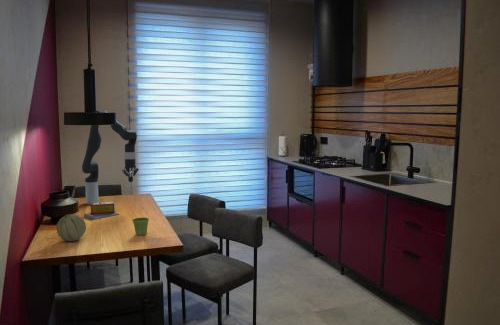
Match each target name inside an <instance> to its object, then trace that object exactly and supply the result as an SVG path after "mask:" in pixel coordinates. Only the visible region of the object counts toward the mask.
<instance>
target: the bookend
mask: <svg viewBox="0 0 500 325" xmlns="http://www.w3.org/2000/svg"><path fill="white" fill-rule="evenodd" d="M113 216H120V213H118V212H117V213H116V212H115V213H104V214H91V213H90V214H89V213H83V217H84V218H86V219H89V220H93V221H94V220H99V219H103V218H109V217H113Z"/></svg>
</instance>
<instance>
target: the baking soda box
mask: <svg viewBox="0 0 500 325" xmlns="http://www.w3.org/2000/svg"><path fill="white" fill-rule="evenodd" d="M116 211H117V204H116V201H99V202H97V203H92V204H90V215H94V214H104V213H116Z"/></svg>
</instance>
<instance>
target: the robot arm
mask: <svg viewBox="0 0 500 325" xmlns="http://www.w3.org/2000/svg"><path fill="white" fill-rule="evenodd" d="M95 110H96V112H97V113H109V112H108V111H107V110H105V109H98V110H97V109H95ZM99 126H100V124H99V125H91V124H90V128H89V129H90V130H89V136H88V140H87V143H86V144H87V145H86V150H85V155H84V158H83V161H82V164H81V169H82V172H83V174H86V175H87V174H89V176H87V177H85V178H84V183H85V184H84V185H85V186H84V187H85V204H86V205H91V204H92V203H97V202H100V201H99V185H98V184H99V182H98V181H99V163H98V162H97V161H95V160H93V158H94V157H95V155H96V154H97V153H98V152H99V150H100V148H101V143H102V136H101V133H100V131H99ZM110 128H111V129H112V130H113V132H115V133H116V134H118V135H119V136H120V138H121V139H122V140H124V141H128V142H127V143H125V144H124V169H121V171H122V173H123V174H124V176H125V177H127V178H128V182H130V183H132V182H134V176H136V175H137V173H138V172H139V170H140V169H139V168H138V167H137V165H136V143H137V138H138V137H137V136H138V134H137V132H136V131H135V130H127V127H126V126H124V125H123V124H122V123H120V122H119V121H117V120H116V124H113V125H110Z"/></svg>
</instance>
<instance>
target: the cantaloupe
mask: <svg viewBox="0 0 500 325" xmlns="http://www.w3.org/2000/svg"><path fill="white" fill-rule="evenodd" d="M86 229H87V224H86V221H85V219H84V218H83V217H81V216H80V215H78V214H76V213H75V214H74V213H72V214H71V213H69V214H65V215H64V216H62V217H61V218H60V219H59V221H58V222H57V223H56V233H57V235H58V236H59V238H60V239H61V240H63V241H65V242H74V241H78V240H79V239H81V238H82V237H83V236H84V235H85V233H86Z"/></svg>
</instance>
